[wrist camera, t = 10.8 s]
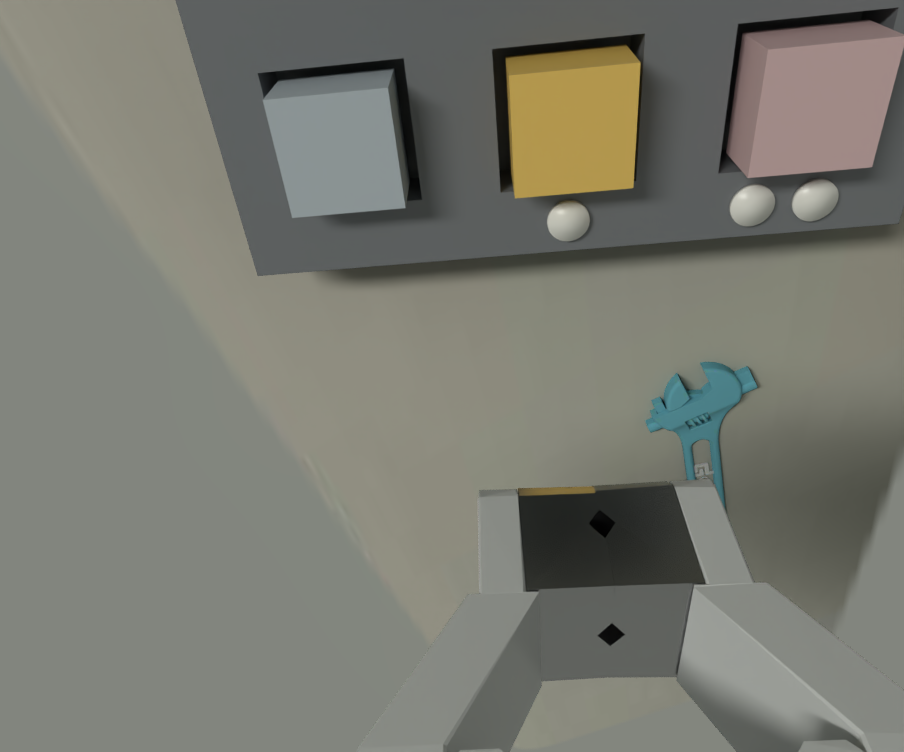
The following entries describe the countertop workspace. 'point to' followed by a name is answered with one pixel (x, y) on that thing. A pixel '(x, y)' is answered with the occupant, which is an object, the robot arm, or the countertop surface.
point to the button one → (572, 120)
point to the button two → (812, 97)
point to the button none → (339, 142)
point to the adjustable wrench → (701, 413)
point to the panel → (487, 126)
